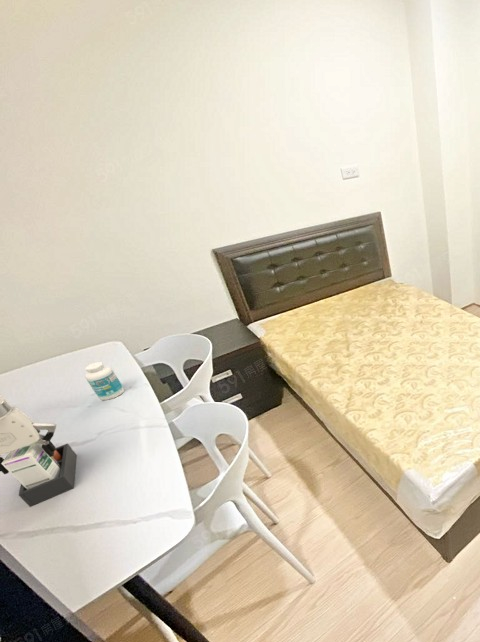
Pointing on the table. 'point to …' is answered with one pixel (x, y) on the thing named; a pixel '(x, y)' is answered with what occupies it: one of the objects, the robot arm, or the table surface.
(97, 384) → the pill bottle
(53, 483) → the holder
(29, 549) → the table surface
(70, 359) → the table surface
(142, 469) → the table surface
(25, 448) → the syrup box
